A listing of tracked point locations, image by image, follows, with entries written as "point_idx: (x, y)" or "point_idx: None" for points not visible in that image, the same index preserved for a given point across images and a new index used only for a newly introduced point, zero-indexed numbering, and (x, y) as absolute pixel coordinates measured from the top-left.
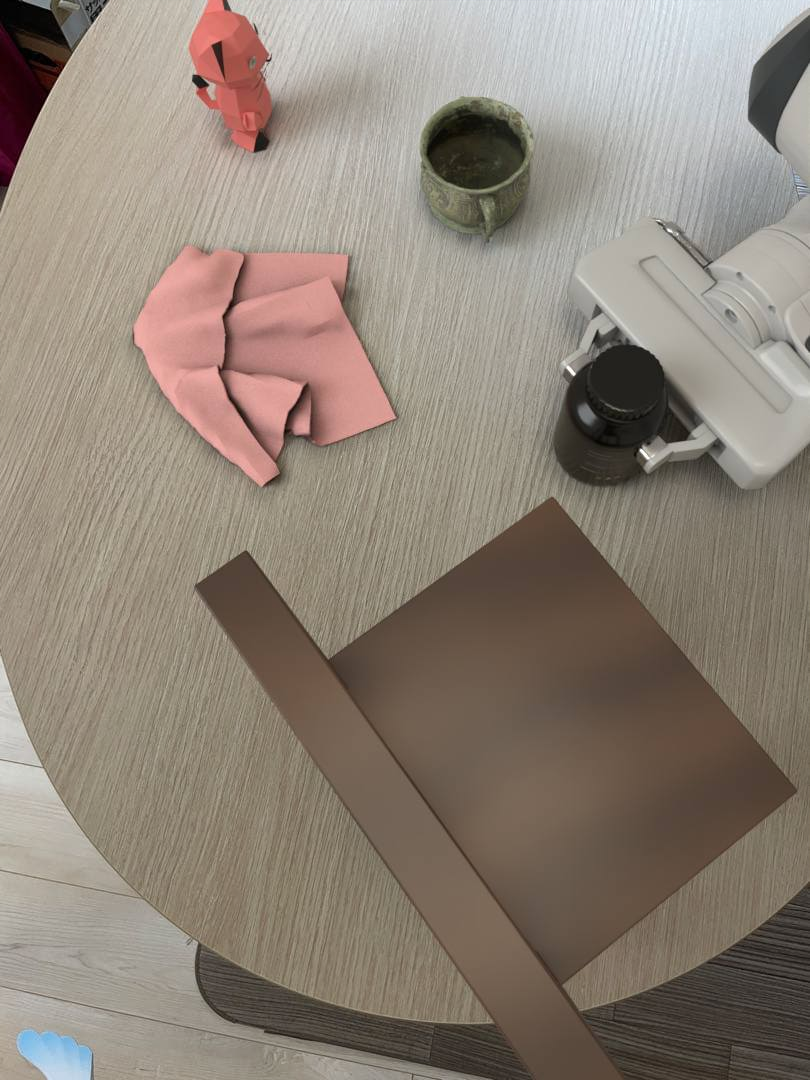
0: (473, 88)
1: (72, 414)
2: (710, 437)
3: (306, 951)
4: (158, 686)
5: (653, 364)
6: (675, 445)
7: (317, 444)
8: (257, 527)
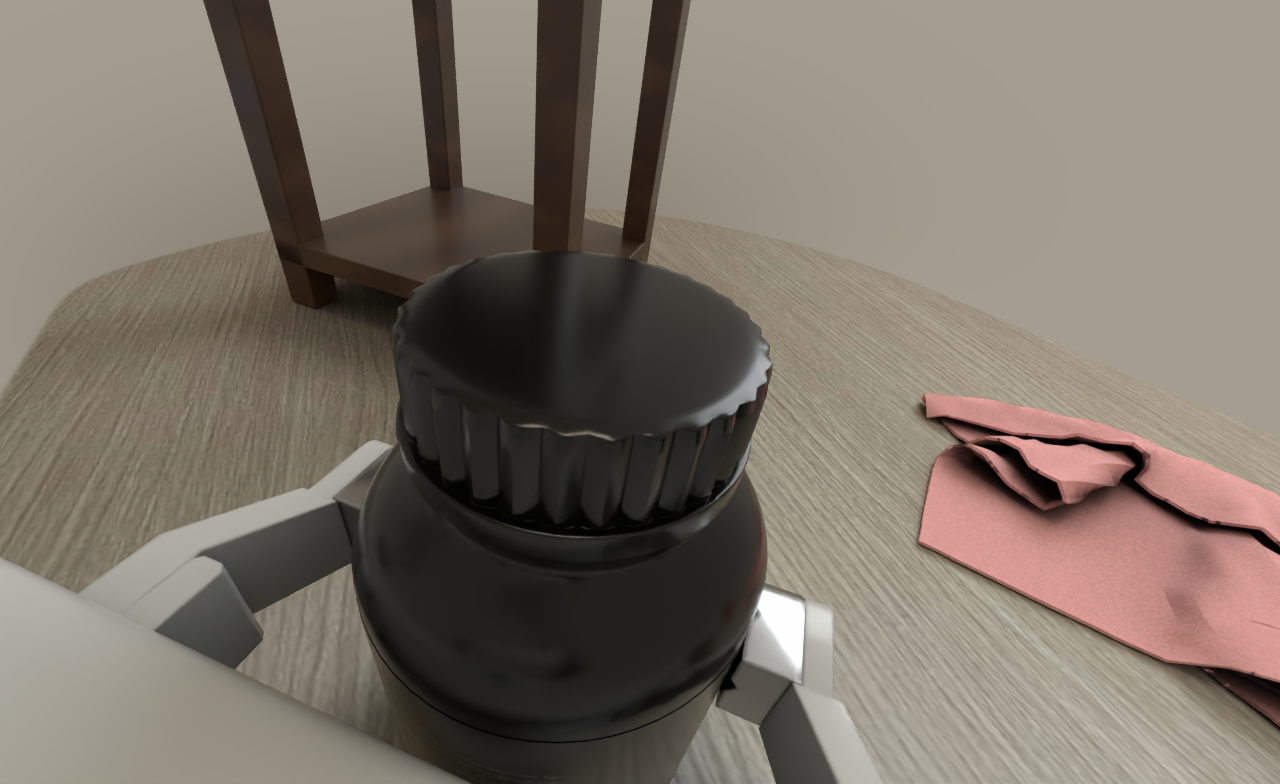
0: None
1: (1117, 395)
2: (115, 582)
3: None
4: (798, 278)
5: (496, 382)
6: (300, 506)
7: (942, 452)
8: (875, 372)
